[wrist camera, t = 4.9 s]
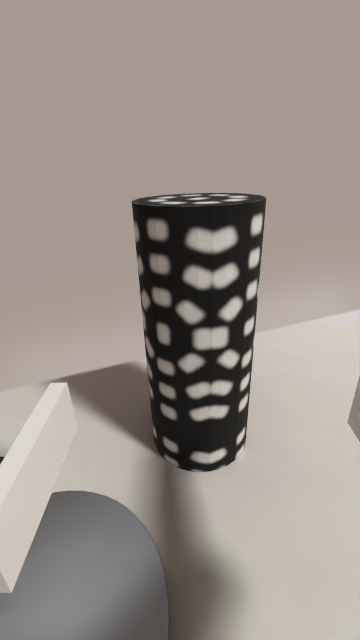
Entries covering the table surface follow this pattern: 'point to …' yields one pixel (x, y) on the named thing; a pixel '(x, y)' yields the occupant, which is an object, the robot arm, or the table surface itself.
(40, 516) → the robot arm
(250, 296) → the white-spotted black cylinder
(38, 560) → the dish
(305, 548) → the table surface
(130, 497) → the table surface
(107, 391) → the table surface
